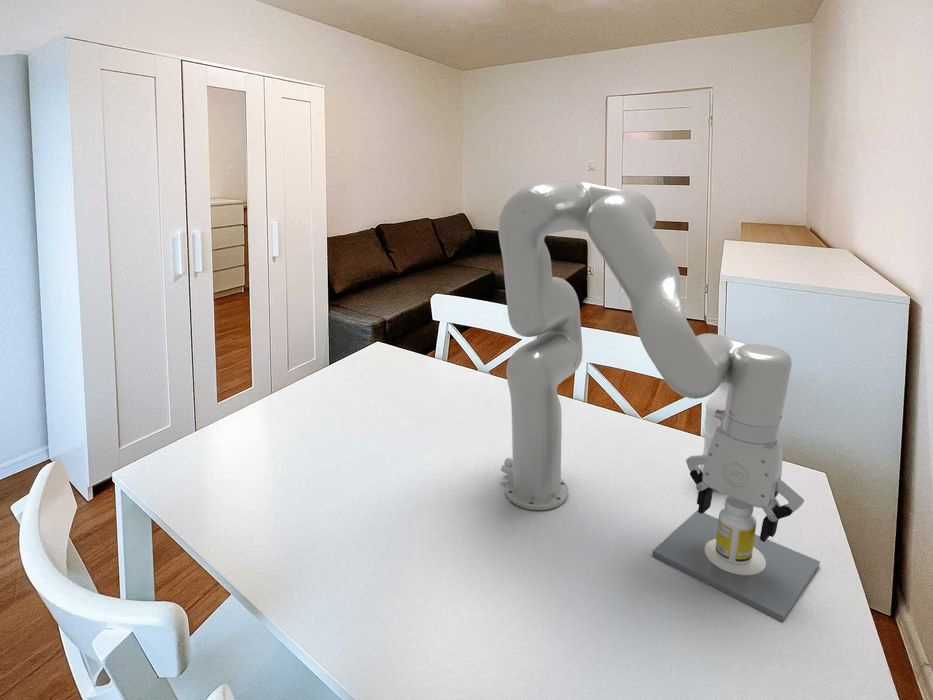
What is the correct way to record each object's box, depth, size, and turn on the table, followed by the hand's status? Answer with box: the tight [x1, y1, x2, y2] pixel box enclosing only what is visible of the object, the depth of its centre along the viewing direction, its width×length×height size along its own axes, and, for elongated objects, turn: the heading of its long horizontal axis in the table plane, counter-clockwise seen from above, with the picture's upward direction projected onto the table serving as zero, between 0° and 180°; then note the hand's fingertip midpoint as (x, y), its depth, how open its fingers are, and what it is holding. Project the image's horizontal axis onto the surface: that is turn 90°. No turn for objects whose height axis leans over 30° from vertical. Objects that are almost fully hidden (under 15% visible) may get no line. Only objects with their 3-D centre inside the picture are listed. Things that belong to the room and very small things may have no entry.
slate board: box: [651, 509, 821, 623], centre depth 89 cm, size 20×16×1 cm
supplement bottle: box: [715, 496, 757, 564], centre depth 88 cm, size 5×5×10 cm
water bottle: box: [699, 383, 728, 473], centre depth 107 cm, size 7×7×25 cm
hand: (733, 523), depth 87 cm, fingers open, 9 cm apart
